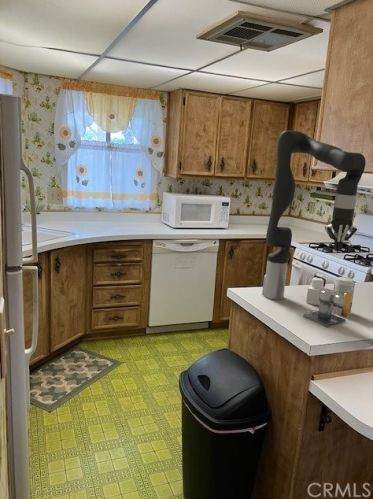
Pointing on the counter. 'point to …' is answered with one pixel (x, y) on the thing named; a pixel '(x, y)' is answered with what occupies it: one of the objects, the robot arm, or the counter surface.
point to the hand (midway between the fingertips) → (337, 250)
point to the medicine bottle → (315, 290)
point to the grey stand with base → (324, 316)
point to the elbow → (336, 300)
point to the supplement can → (343, 291)
